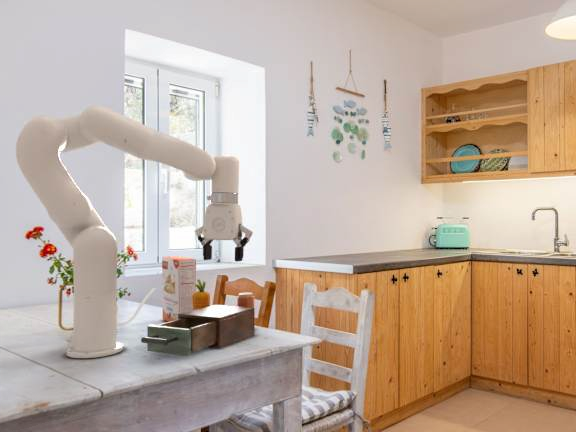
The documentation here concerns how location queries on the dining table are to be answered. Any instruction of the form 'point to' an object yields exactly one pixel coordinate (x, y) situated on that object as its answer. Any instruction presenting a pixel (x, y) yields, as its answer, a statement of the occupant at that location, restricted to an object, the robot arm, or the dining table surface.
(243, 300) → the spice jar
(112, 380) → the dining table surface
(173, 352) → the drawer
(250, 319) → the cabinet
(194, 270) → the cracker box
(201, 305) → the carrot
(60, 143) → the robot arm
